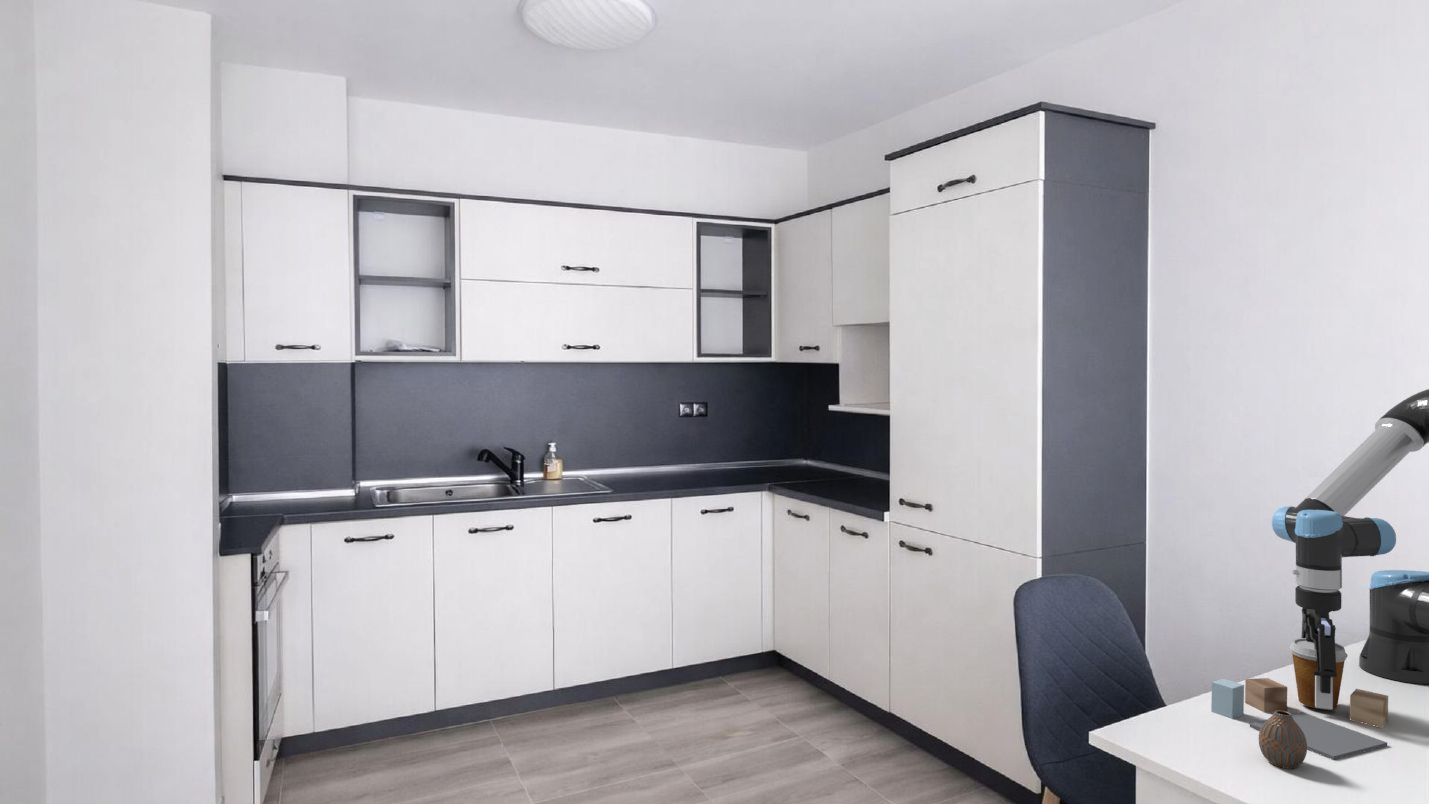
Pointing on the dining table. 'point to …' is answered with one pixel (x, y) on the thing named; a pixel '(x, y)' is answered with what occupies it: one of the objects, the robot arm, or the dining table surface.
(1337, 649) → the disposable coffee cup
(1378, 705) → the block
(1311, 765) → the dining table surface
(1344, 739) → the mat
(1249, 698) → the block
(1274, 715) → the vase
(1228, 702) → the block
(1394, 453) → the robot arm
